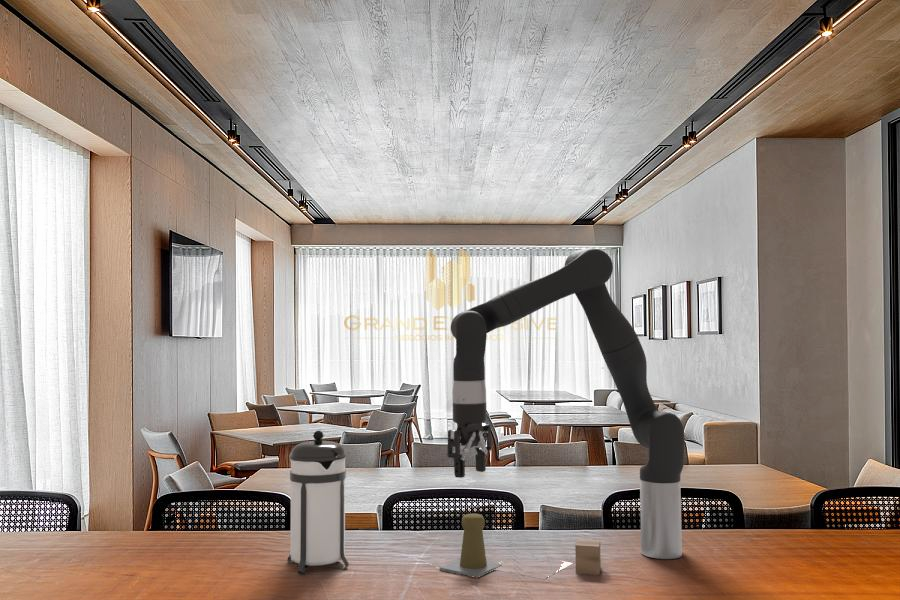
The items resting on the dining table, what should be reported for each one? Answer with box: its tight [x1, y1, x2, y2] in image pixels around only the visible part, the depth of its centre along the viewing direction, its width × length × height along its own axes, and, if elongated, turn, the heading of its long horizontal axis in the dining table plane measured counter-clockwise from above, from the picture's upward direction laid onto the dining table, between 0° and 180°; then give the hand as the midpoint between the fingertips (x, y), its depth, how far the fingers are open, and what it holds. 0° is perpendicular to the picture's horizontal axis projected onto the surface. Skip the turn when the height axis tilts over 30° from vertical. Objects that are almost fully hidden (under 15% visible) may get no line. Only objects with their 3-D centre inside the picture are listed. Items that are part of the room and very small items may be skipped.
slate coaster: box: [439, 557, 502, 578], centre depth 168 cm, size 10×10×1 cm
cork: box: [459, 513, 487, 569], centre depth 169 cm, size 6×6×11 cm
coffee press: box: [287, 430, 350, 575], centre depth 173 cm, size 17×16×30 cm
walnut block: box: [574, 538, 601, 576], centre depth 167 cm, size 5×5×6 cm
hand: (470, 474), depth 169 cm, fingers open, 8 cm apart
